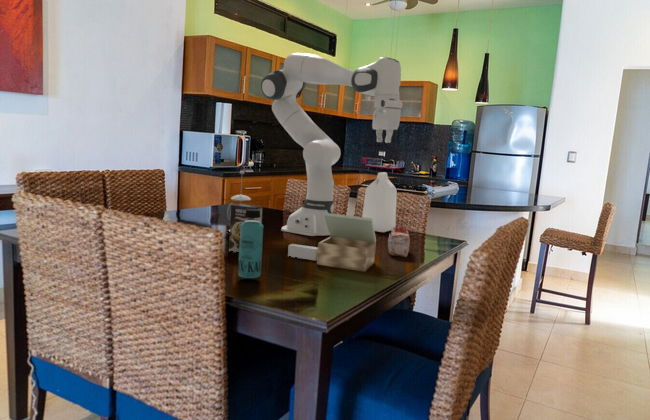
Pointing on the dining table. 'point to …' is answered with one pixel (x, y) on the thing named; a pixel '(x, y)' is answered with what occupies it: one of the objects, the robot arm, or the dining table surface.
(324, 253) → the box
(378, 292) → the dining table surface
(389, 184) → the milk
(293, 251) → the white rectangular block
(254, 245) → the beverage bottle
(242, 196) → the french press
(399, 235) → the food item
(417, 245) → the dining table surface
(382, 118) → the robot arm
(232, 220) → the coffee box
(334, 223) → the lid
